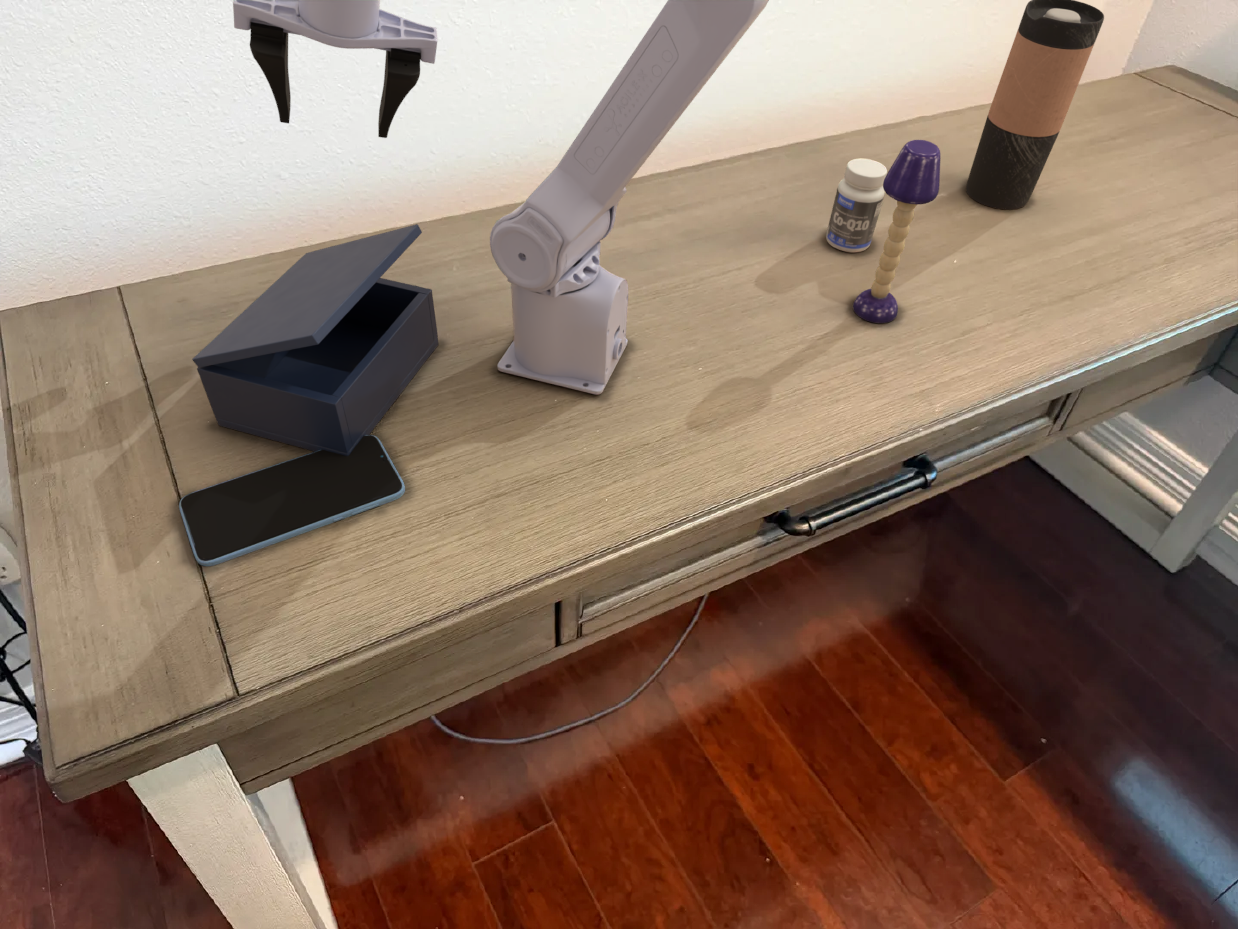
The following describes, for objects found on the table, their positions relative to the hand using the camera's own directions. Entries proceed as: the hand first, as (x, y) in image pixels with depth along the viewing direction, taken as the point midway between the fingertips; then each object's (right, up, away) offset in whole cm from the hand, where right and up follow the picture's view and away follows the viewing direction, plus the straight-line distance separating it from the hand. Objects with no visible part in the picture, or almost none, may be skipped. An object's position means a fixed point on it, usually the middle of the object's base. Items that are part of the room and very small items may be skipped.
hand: (334, 123), depth 74 cm
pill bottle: (+48, -5, +21) cm, 52 cm away
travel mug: (+67, +3, +29) cm, 73 cm away
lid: (0, -15, -5) cm, 16 cm away
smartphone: (0, -31, -8) cm, 32 cm away
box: (0, -21, +1) cm, 21 cm away
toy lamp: (+48, -14, +12) cm, 51 cm away
